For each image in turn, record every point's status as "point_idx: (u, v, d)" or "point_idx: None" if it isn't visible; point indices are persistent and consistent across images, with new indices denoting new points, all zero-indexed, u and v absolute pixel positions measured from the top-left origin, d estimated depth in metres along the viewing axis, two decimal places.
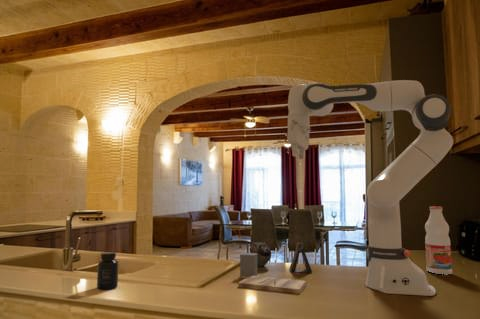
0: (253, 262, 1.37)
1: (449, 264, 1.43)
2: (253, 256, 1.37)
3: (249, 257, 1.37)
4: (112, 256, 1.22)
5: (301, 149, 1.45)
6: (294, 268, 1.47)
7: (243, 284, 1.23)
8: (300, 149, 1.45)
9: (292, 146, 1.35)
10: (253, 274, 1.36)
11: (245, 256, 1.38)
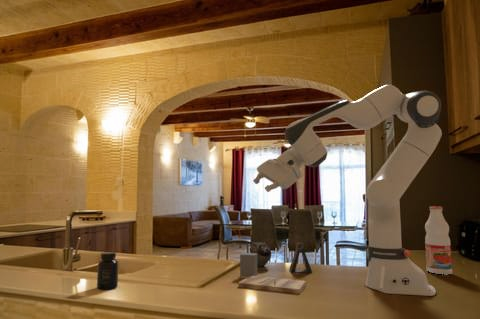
0: (253, 262, 1.37)
1: (449, 264, 1.43)
2: (253, 256, 1.37)
3: (249, 257, 1.37)
4: (112, 256, 1.22)
5: None
6: (294, 268, 1.47)
7: (243, 284, 1.23)
8: None
9: None
10: (253, 274, 1.36)
11: (245, 256, 1.38)
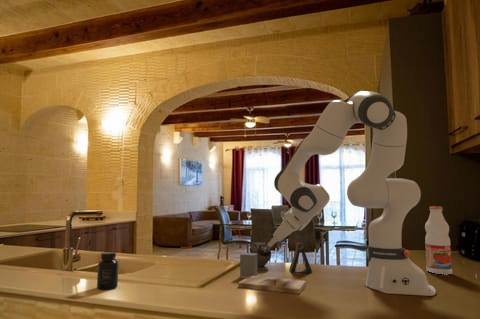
0: (253, 262, 1.37)
1: (449, 264, 1.43)
2: (253, 256, 1.37)
3: (249, 257, 1.37)
4: (112, 256, 1.22)
5: None
6: (294, 268, 1.47)
7: (243, 284, 1.23)
8: None
9: None
10: (253, 274, 1.36)
11: (245, 256, 1.38)
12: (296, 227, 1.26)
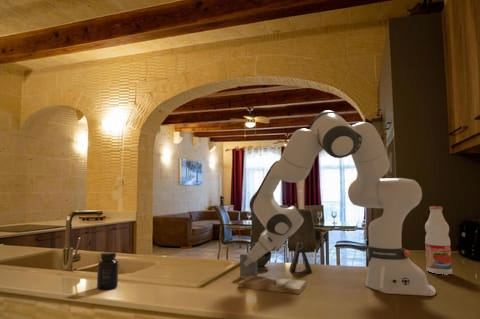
0: (253, 262, 1.37)
1: (449, 264, 1.43)
2: None
3: None
4: (112, 256, 1.22)
5: None
6: (294, 268, 1.47)
7: (243, 284, 1.23)
8: None
9: None
10: (253, 274, 1.36)
11: (245, 256, 1.38)
12: (269, 248, 1.29)
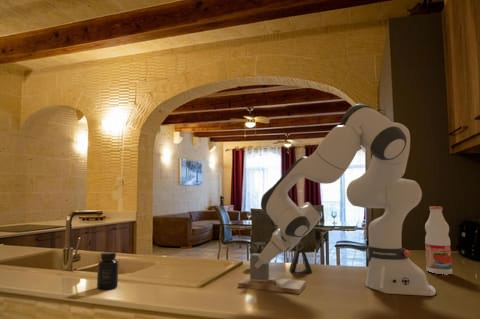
0: None
1: (449, 264, 1.43)
2: None
3: None
4: (112, 256, 1.22)
5: None
6: (294, 268, 1.47)
7: (243, 284, 1.23)
8: None
9: None
10: (264, 277, 1.25)
11: (256, 257, 1.26)
12: (283, 249, 1.18)
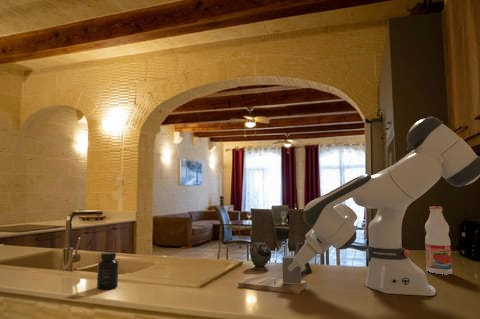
0: (298, 266, 1.21)
1: (449, 264, 1.43)
2: None
3: None
4: (112, 256, 1.22)
5: None
6: None
7: (243, 284, 1.23)
8: None
9: None
10: (298, 280, 1.21)
11: (288, 259, 1.22)
12: (319, 251, 1.14)
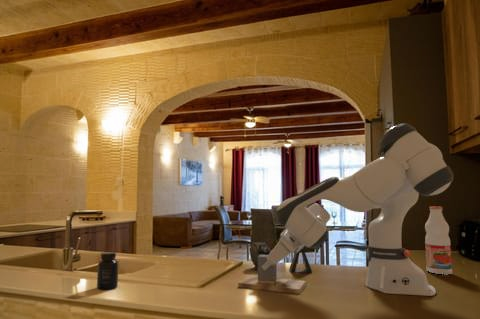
0: (272, 265, 1.24)
1: (449, 264, 1.43)
2: None
3: None
4: (112, 256, 1.22)
5: None
6: (294, 268, 1.47)
7: (243, 284, 1.23)
8: None
9: None
10: (272, 278, 1.23)
11: (263, 258, 1.25)
12: (291, 250, 1.16)
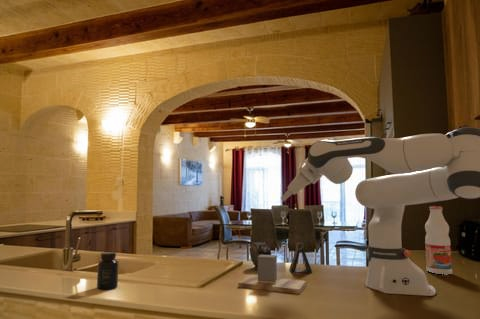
0: (272, 265, 1.24)
1: (449, 264, 1.43)
2: (272, 258, 1.24)
3: (268, 259, 1.24)
4: (112, 256, 1.22)
5: None
6: (294, 268, 1.47)
7: (243, 284, 1.23)
8: None
9: None
10: (272, 278, 1.23)
11: (263, 258, 1.25)
12: (311, 179, 1.23)
